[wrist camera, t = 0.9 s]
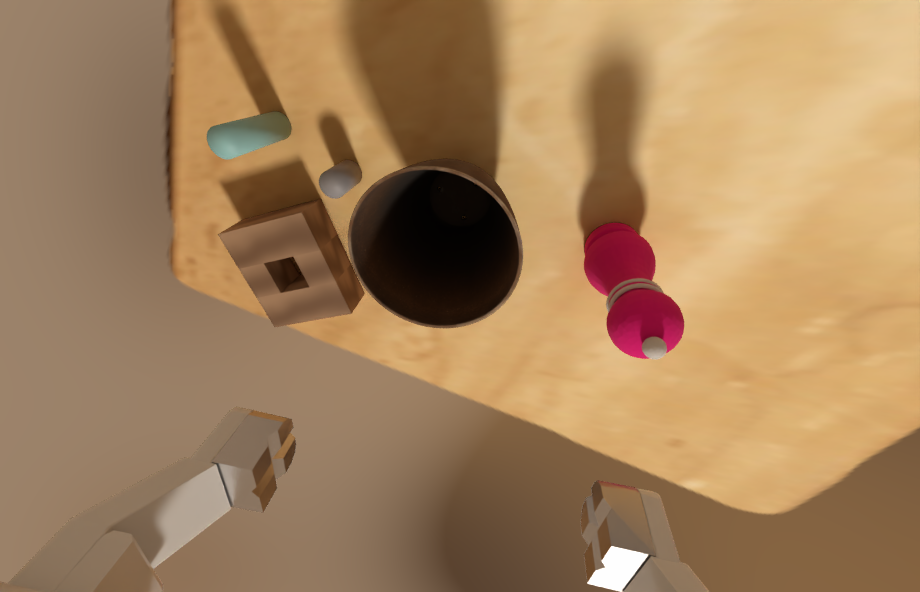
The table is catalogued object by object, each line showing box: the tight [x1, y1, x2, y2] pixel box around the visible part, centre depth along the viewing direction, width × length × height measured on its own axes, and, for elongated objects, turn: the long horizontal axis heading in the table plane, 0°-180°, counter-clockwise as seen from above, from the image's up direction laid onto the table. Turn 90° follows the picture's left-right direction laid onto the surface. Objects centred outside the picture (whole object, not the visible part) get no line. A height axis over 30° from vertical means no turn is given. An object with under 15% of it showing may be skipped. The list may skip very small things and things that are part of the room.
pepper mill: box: [584, 223, 684, 359], centre depth 39 cm, size 7×7×20 cm
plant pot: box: [348, 159, 523, 328], centre depth 40 cm, size 15×15×16 cm
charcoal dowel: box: [319, 160, 362, 198], centre depth 45 cm, size 3×3×5 cm
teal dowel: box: [207, 111, 291, 159], centre depth 42 cm, size 3×3×10 cm
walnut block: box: [218, 199, 364, 327], centre depth 53 cm, size 14×12×5 cm
